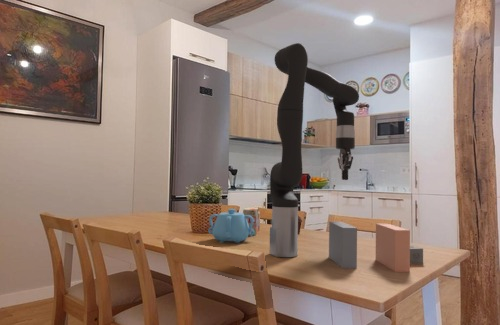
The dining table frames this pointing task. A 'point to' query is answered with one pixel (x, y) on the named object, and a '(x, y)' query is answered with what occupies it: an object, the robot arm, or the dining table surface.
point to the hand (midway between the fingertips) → (344, 179)
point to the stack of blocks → (256, 217)
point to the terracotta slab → (393, 247)
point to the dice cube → (416, 255)
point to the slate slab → (343, 244)
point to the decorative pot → (231, 226)
